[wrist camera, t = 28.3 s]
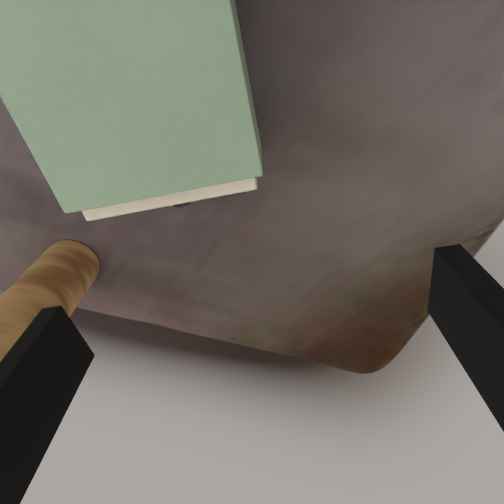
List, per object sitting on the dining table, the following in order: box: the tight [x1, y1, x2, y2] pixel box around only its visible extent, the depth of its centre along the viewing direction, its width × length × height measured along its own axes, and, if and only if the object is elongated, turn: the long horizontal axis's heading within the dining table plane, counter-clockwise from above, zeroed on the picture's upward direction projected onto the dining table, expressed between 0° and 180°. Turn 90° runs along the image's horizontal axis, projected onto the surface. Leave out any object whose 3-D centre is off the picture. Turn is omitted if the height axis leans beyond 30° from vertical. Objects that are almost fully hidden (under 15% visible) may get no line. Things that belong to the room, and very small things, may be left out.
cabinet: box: [0, 0, 263, 214], centre depth 21 cm, size 16×14×8 cm
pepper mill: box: [0, 240, 100, 362], centre depth 27 cm, size 5×5×18 cm
